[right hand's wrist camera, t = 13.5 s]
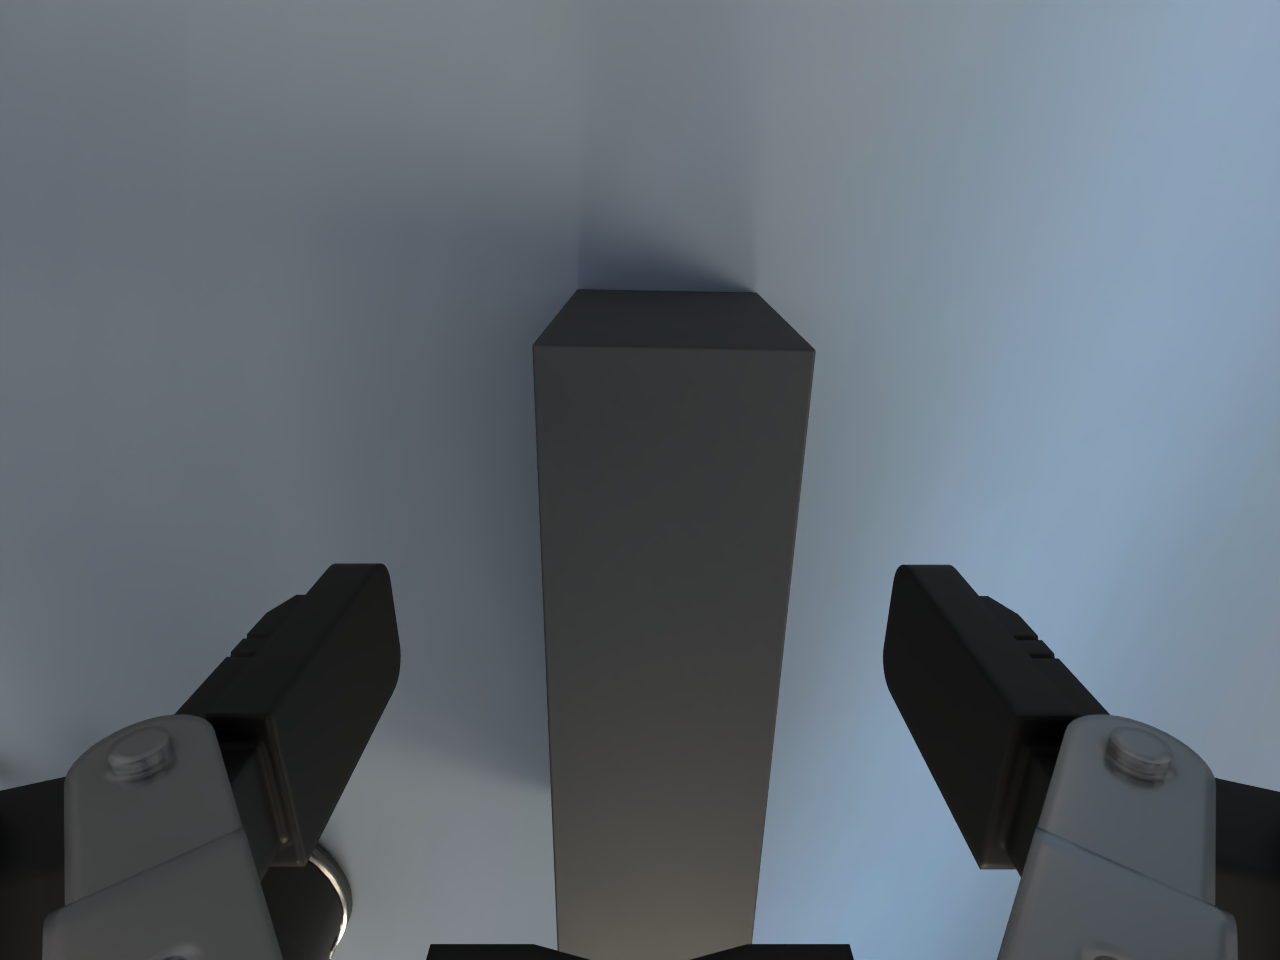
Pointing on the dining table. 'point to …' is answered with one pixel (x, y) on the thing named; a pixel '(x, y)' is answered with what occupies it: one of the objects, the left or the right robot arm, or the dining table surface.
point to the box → (664, 606)
